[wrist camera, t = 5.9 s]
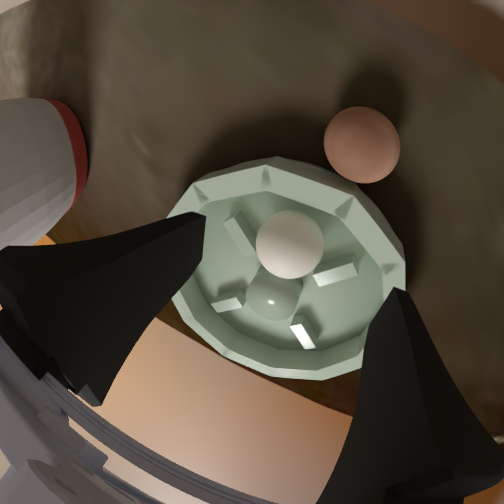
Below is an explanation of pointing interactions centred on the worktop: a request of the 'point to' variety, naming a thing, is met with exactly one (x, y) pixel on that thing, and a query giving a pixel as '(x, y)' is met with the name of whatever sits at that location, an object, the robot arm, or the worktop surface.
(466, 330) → the worktop surface
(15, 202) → the citrus juicer
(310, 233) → the ivory bead
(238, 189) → the tray
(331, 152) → the terracotta bead
